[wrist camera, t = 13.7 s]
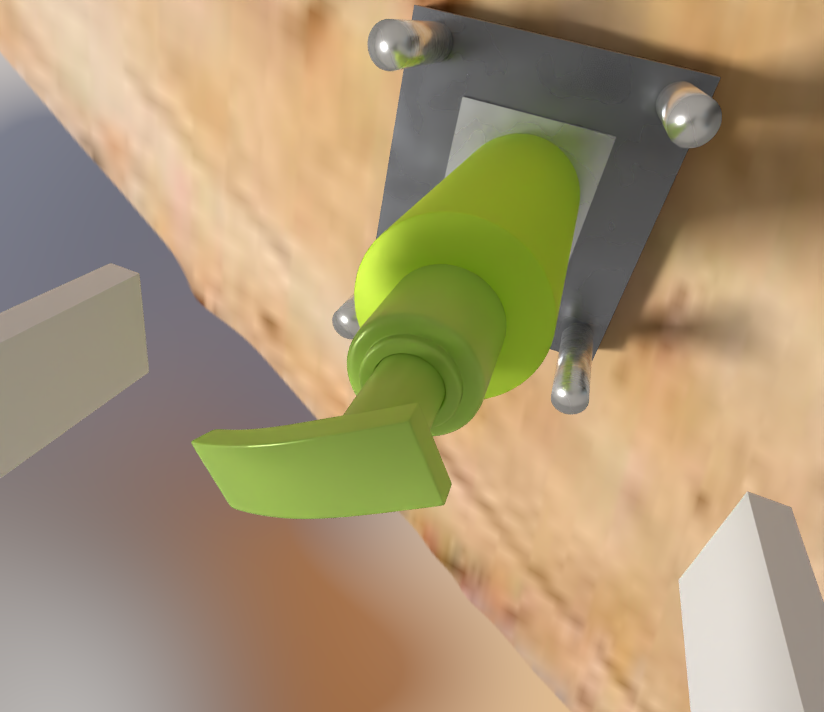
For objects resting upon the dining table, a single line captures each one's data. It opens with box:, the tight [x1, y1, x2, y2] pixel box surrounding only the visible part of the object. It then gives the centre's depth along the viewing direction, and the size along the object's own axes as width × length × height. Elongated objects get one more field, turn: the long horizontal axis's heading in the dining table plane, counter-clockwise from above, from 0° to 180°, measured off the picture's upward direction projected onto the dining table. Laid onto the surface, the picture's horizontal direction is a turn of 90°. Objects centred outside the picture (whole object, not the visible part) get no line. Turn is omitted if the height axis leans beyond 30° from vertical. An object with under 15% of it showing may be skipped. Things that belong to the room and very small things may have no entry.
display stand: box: [332, 5, 722, 414], centre depth 25 cm, size 14×13×8 cm
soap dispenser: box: [192, 134, 580, 519], centre depth 18 cm, size 6×7×20 cm
